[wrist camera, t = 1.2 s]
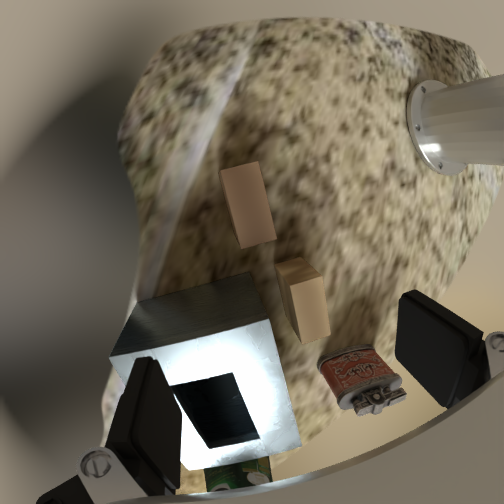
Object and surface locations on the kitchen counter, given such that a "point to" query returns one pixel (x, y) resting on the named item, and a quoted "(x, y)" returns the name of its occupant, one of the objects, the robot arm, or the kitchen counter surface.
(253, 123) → the kitchen counter surface
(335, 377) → the lighter
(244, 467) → the coffee jar
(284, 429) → the grey slotted box
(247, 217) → the walnut tile
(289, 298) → the honey tile
